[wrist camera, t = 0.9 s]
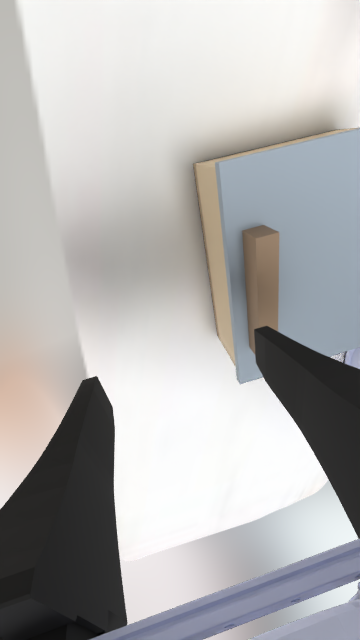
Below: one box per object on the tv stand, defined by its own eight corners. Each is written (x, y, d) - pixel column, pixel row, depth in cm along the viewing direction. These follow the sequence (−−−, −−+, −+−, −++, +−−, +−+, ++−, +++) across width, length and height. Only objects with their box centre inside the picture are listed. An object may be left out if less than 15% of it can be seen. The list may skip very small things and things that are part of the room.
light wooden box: (317, 306, 26) (357, 336, 22) (217, 335, 25) (238, 372, 21) (336, 129, 18) (403, 123, 14) (193, 163, 17) (219, 167, 13)
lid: (362, 340, 22) (386, 357, 20) (236, 378, 21) (249, 400, 19) (415, 114, 14) (462, 109, 12) (214, 162, 13) (232, 164, 11)
